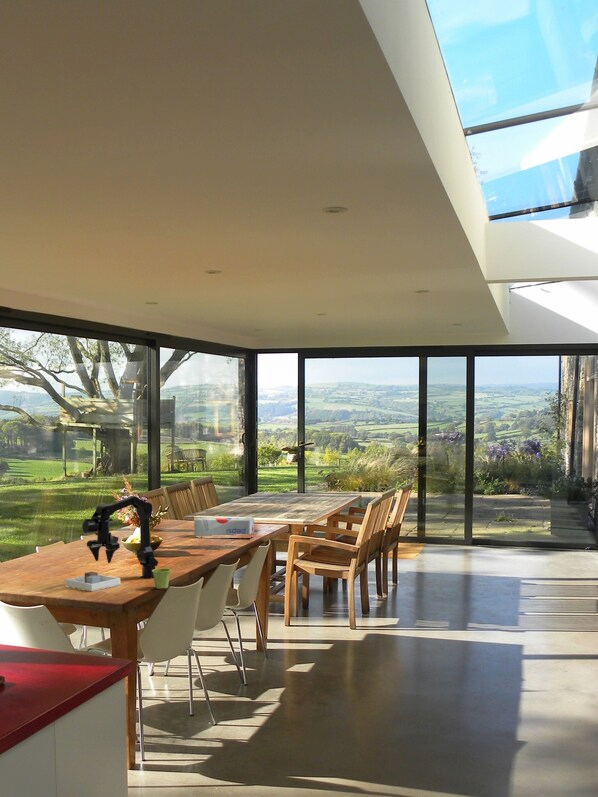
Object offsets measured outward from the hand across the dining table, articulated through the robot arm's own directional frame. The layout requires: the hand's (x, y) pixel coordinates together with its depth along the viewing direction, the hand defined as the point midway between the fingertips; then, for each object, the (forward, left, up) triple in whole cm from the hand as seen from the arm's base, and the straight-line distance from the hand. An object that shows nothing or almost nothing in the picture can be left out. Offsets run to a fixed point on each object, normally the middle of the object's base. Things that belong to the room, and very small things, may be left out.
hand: (103, 561), depth 390 cm
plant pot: (-27, -14, -12) cm, 33 cm away
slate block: (-1, +7, -11) cm, 13 cm away
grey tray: (+4, +3, -12) cm, 13 cm away
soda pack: (+55, -153, -12) cm, 164 cm away
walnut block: (+8, +1, -11) cm, 14 cm away
